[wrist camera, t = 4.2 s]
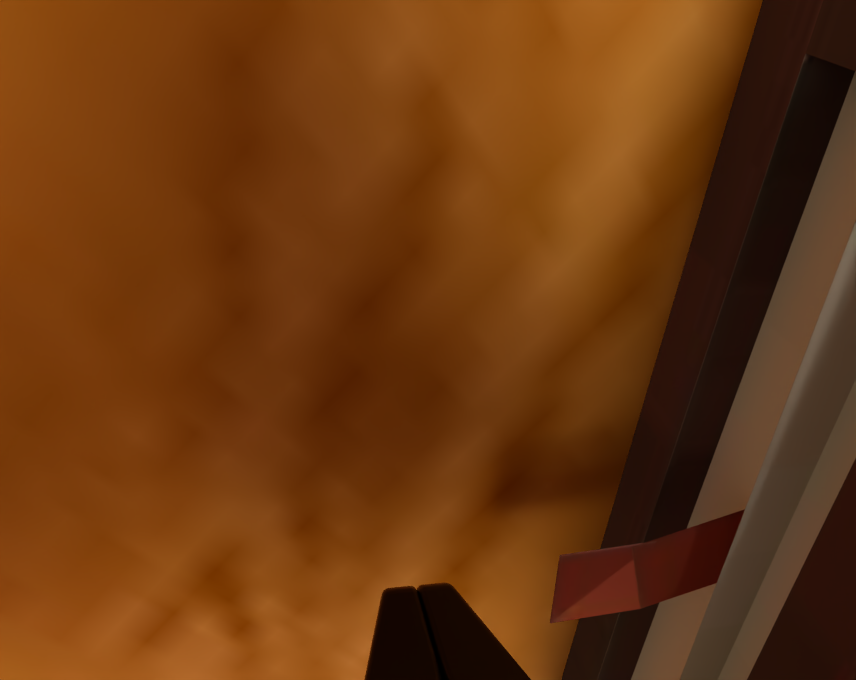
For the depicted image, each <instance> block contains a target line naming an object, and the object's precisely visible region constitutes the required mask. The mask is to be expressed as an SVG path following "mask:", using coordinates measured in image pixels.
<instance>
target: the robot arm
mask: <svg viewBox="0 0 856 680" xmlns="http://www.w3.org/2000/svg"><path fill="white" fill-rule="evenodd" d="M365 680H531V679H530V678H529V677H528V676H527V674H526V673H525V672H524V671H523V670H522V668H521V667H520V666H519V665H518V664H517V662H516V661H515V660H514V659H513V658H512V656H511V655H510V654H509V653H508V652H507V650H506V649H505V648H504V647H503V646H502V644H501V643H500V642H499V641H498V640H497V638H496V637H495V636H494V635H493V634H492V632H491V631H490V630H489V629H488V628H487V626H486V625H485V624H484V623H483V622H482V620H481V619H480V618H479V617H478V616H477V614H476V613H475V612H474V611H473V610H472V609H471V607H470V606H469V605H468V604H467V603H466V601H465V600H464V599H463V598H462V597H461V595H460V594H459V593H458V592H457V591H456V589H455V588H454V587H453V586H452V585H450V584H448V583H435V584H425V585H420V586H419V587H418V588H417V590H416V589H415V588H414V587H413V586H405V587H395V588H387V589H385V590H384V591H383V593H382V596H381V601H380V606H379V611H378V616H377V620H376V625H375V630H374V635H373V640H372V645H371V650H370V655H369V660H368V665H367V670H366V675H365Z"/></svg>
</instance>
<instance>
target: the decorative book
mask: <svg viewBox="0 0 856 680" xmlns="http://www.w3.org/2000/svg"><path fill="white" fill-rule="evenodd" d="M573 619H579V622H578V626H577V629H576V632H575V636H574V639H573V642H572V646H571V649H570V653H569V656H568V659H567V663H566V666H565V669H564V673H563V676H562V680H856V0H763V2H762V6H761V9H760V12H759V16H758V19H757V23H756V26H755V29H754V33H753V36H752V39H751V43H750V46H749V49H748V53H747V56H746V60H745V63H744V66H743V70H742V73H741V76H740V80H739V83H738V87H737V90H736V93H735V97H734V100H733V103H732V107H731V110H730V113H729V117H728V120H727V124H726V127H725V130H724V134H723V137H722V140H721V144H720V147H719V151H718V154H717V157H716V161H715V164H714V167H713V171H712V174H711V178H710V181H709V184H708V188H707V191H706V194H705V198H704V201H703V204H702V208H701V211H700V215H699V218H698V221H697V225H696V228H695V231H694V235H693V238H692V242H691V245H690V248H689V252H688V255H687V258H686V262H685V265H684V268H683V272H682V275H681V279H680V282H679V285H678V289H677V292H676V295H675V299H674V302H673V306H672V309H671V312H670V316H669V319H668V322H667V326H666V329H665V333H664V336H663V339H662V343H661V346H660V349H659V353H658V356H657V359H656V363H655V366H654V370H653V373H652V376H651V380H650V383H649V386H648V390H647V393H646V397H645V400H644V403H643V407H642V410H641V413H640V417H639V420H638V423H637V427H636V430H635V434H634V437H633V440H632V444H631V447H630V450H629V454H628V457H627V461H626V464H625V467H624V471H623V474H622V477H621V481H620V484H619V488H618V491H617V494H616V498H615V501H614V504H613V508H612V511H611V514H610V518H609V521H608V525H607V528H606V531H605V535H604V538H603V541H602V545H601V548H600V549H598V550H592V551H585V552H578V553H571V554H564V555H560V557H559V564H558V571H557V577H556V584H555V591H554V598H553V605H552V612H551V619H550V623H555V622H561V621H567V620H573Z"/></svg>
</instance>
